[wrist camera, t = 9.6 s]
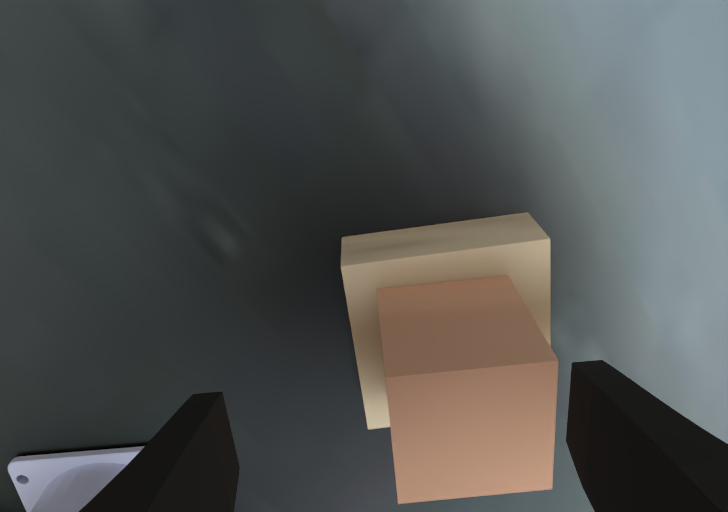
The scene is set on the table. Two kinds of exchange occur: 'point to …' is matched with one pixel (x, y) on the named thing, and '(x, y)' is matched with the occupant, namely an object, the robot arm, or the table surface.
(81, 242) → the table surface
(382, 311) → the terracotta block
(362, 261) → the maple slab
